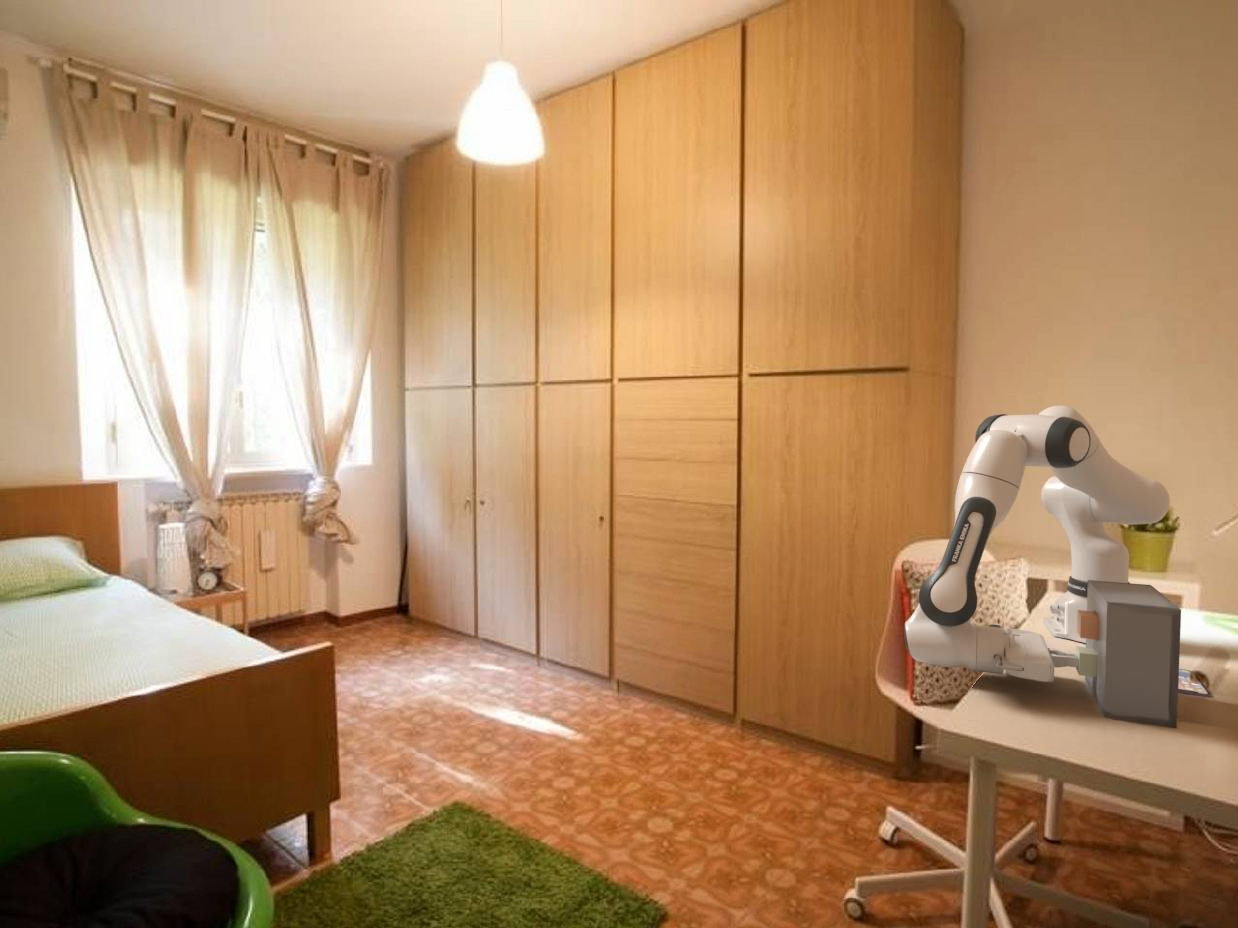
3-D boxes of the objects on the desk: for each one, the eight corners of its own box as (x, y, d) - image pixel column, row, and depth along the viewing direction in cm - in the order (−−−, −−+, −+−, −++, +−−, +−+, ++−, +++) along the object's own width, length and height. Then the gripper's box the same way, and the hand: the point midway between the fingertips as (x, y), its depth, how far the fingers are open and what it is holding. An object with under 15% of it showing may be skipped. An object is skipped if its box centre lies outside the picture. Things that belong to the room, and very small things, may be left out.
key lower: (1079, 675, 125) (1079, 652, 125) (1075, 667, 129) (1076, 646, 129) (1112, 679, 123) (1112, 656, 123) (1107, 672, 127) (1108, 649, 126)
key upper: (1080, 637, 125) (1081, 615, 125) (1076, 631, 128) (1077, 609, 128) (1113, 641, 122) (1114, 618, 122) (1108, 635, 126) (1109, 612, 126)
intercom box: (1103, 717, 117) (1107, 603, 116) (1084, 679, 135) (1087, 579, 134) (1176, 728, 113) (1181, 609, 112) (1147, 687, 130) (1150, 584, 129)
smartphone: (1191, 674, 138) (1212, 700, 125) (1146, 668, 142) (1161, 692, 129) (1191, 670, 138) (1212, 695, 125) (1146, 663, 142) (1162, 687, 129)
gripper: (995, 649, 124) (1087, 661, 117) (991, 621, 142) (1070, 629, 136) (995, 683, 124) (1085, 696, 118) (990, 650, 142) (1069, 660, 136)
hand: (1077, 660), depth 127 cm, fingers closed, pressing on key lower
